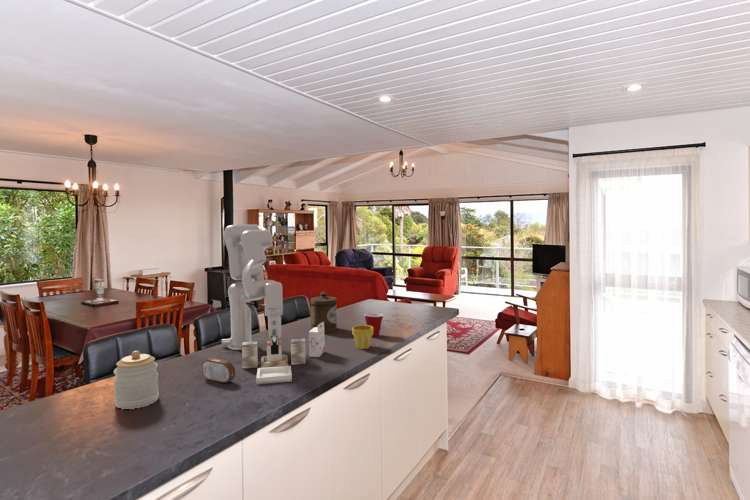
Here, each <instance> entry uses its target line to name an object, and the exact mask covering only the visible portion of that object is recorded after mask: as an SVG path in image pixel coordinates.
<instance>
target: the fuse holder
mask: <svg viewBox="0 0 750 500" xmlns="http://www.w3.org/2000/svg"><path fill="white" fill-rule="evenodd" d="M258 352H259V351H258V341H253V342H243V343H242V350H241V355H242V357H241V359H242V361H241V362H242V369H252V368H253V369H254V368H259V367H258V366H259V364H258V363H259V361H258V360H259V357H258V354H259V353H258ZM288 357H289V356H288V354H282V361H273V362H267V355H263V356H261V359H260V368H267V367H280V366H289V359H288ZM306 362H307V361H306V338H305V337H304V338H291V339H290V363H291V364H290V366H292V365H304V364H306Z"/></svg>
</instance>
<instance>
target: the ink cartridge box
mask: <svg viewBox="0 0 750 500" xmlns="http://www.w3.org/2000/svg"><path fill="white" fill-rule="evenodd" d="M321 325H322V327H320V326H321ZM325 349H326V347H325V333H324V322H322V323H320V324H319V325H318V327H314V328H313V329H312V330H311V329H310V330H309V331H308V353H309V355H308V356H309V357H310V358H320V357H321V356H322V355H323V354H324V353H325Z"/></svg>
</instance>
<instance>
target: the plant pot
mask: <svg viewBox="0 0 750 500" xmlns="http://www.w3.org/2000/svg"><path fill="white" fill-rule="evenodd" d="M351 329H352V330H351V334H352V336H353V339H354V342H355V347H356V349H360V350H365V349H369V348H370V346H371V342H372V338H373V337H372V335H373V327H372V326H369V325H366V324H360V325H359V324H357V325H354V326H352V327H351Z"/></svg>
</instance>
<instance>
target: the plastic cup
mask: <svg viewBox="0 0 750 500" xmlns="http://www.w3.org/2000/svg"><path fill="white" fill-rule="evenodd" d="M363 315H364V321H365V323H366V324H365V325H369V326H372V327H373V335H372V338H378V337H379V336H380V332H381V326H382V321H383V318H384V316H385V314H382V313H377V312H367V313H364V314H363Z"/></svg>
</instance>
